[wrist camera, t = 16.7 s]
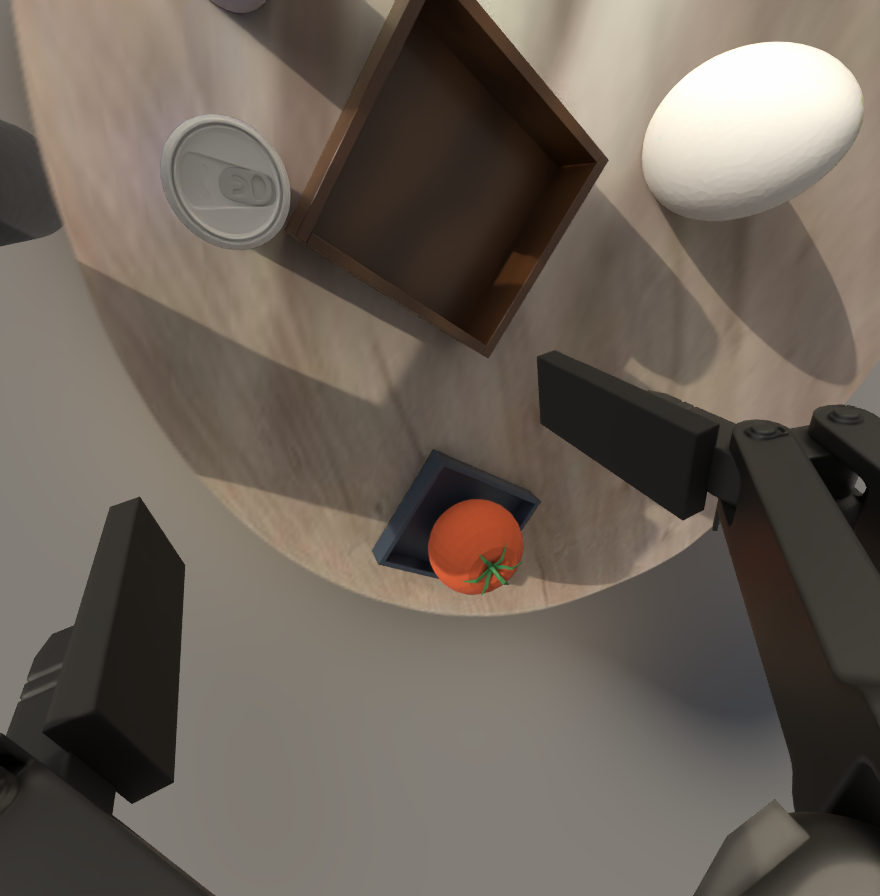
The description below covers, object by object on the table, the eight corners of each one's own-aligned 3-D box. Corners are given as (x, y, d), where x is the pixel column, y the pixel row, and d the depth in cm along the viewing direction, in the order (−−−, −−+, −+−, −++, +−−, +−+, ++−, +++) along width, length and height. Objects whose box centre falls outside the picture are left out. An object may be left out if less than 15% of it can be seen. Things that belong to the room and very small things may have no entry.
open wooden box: (284, 232, 34) (294, 236, 30) (402, -16, 31) (434, -52, 26) (461, 342, 44) (488, 358, 39) (566, 164, 40) (609, 159, 36)
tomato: (410, 497, 49) (449, 556, 41) (495, 471, 52) (547, 521, 44) (419, 569, 54) (455, 634, 46) (496, 541, 57) (543, 597, 49)
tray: (371, 550, 50) (378, 564, 49) (433, 449, 48) (442, 459, 46) (472, 576, 59) (481, 589, 57) (530, 491, 56) (541, 501, 54)
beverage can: (185, 228, 32) (167, 246, 20) (176, 139, 29) (148, 96, 17) (265, 236, 34) (294, 257, 22) (262, 153, 32) (292, 124, 19)
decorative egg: (708, 214, 49) (872, 218, 37) (615, 224, 45) (764, 232, 33) (738, 65, 43) (946, 12, 31) (634, 62, 39) (826, -2, 27)
